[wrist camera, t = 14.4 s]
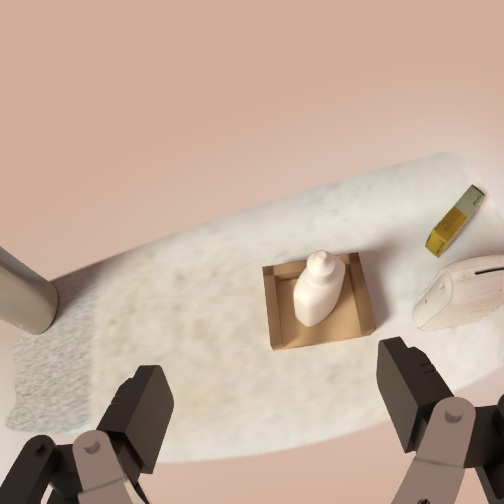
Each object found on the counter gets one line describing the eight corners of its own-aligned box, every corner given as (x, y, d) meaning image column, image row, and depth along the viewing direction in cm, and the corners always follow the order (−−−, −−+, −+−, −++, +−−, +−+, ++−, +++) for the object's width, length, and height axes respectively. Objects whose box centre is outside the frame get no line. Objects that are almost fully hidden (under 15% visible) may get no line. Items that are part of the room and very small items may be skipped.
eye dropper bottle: (288, 296, 36) (279, 243, 25) (333, 280, 36) (342, 222, 25) (300, 331, 34) (297, 291, 23) (347, 313, 34) (365, 266, 23)
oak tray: (273, 350, 34) (270, 345, 31) (265, 277, 38) (262, 267, 36) (370, 334, 33) (375, 328, 30) (354, 263, 37) (357, 252, 35)
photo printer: (413, 336, 32) (458, 299, 21) (408, 301, 34) (446, 252, 23) (483, 322, 30) (538, 283, 20) (476, 291, 32) (525, 242, 22)
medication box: (463, 199, 39) (472, 182, 36) (476, 211, 38) (486, 194, 34) (423, 246, 37) (431, 229, 34) (437, 259, 36) (447, 244, 32)
